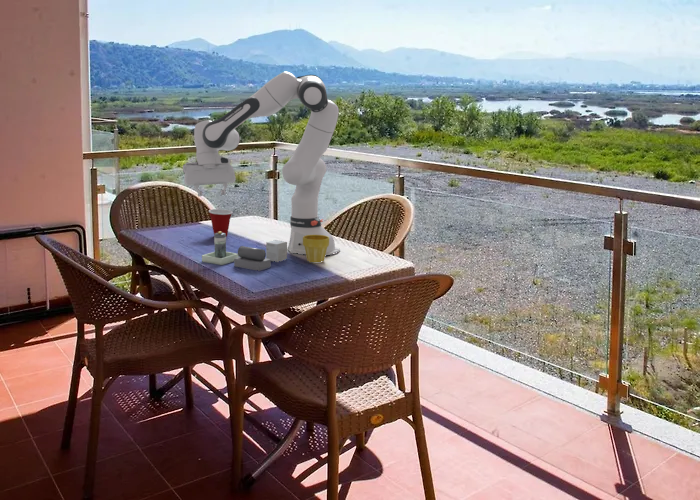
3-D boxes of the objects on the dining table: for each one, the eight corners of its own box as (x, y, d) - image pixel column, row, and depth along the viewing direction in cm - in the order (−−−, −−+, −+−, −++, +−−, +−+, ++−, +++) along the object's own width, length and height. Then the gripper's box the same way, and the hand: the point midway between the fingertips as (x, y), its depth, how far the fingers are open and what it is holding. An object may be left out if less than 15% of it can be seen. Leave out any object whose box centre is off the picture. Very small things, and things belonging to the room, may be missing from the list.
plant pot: (328, 258, 272) (329, 234, 270) (328, 264, 262) (329, 239, 260) (303, 257, 272) (303, 234, 269) (302, 264, 261) (302, 239, 259)
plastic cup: (230, 239, 303) (230, 212, 300) (206, 238, 303) (206, 212, 300) (235, 234, 314) (234, 208, 311) (212, 233, 314) (211, 208, 311)
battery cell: (228, 258, 265) (228, 231, 262) (221, 260, 261) (220, 233, 259) (220, 256, 267) (219, 230, 265) (212, 259, 263) (211, 232, 261)
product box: (265, 260, 267) (265, 242, 265) (275, 257, 272) (275, 239, 270) (277, 262, 264) (277, 244, 262) (287, 259, 268) (287, 241, 267)
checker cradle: (270, 266, 256) (270, 248, 255) (259, 270, 250) (259, 251, 249) (246, 262, 262) (245, 244, 261) (234, 266, 256) (233, 247, 255)
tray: (238, 259, 266) (238, 253, 265) (221, 265, 258) (221, 258, 257) (219, 256, 271) (219, 250, 270) (201, 261, 262) (201, 255, 262)
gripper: (183, 161, 265) (187, 196, 265) (234, 158, 273) (238, 192, 273) (180, 164, 271) (184, 198, 270) (230, 161, 279) (234, 194, 279)
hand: (212, 195), depth 272 cm, fingers open, 8 cm apart
